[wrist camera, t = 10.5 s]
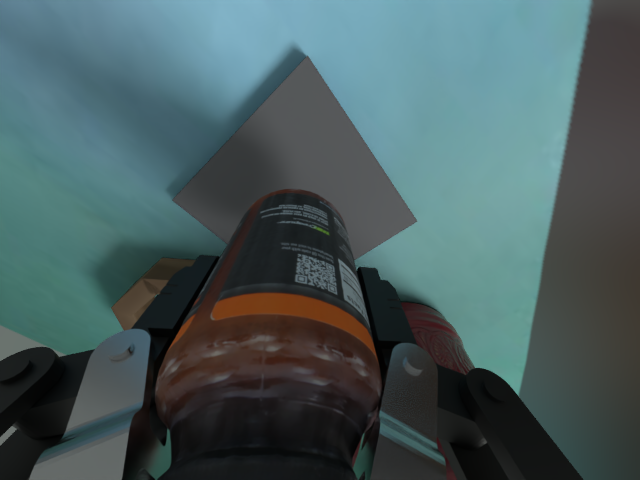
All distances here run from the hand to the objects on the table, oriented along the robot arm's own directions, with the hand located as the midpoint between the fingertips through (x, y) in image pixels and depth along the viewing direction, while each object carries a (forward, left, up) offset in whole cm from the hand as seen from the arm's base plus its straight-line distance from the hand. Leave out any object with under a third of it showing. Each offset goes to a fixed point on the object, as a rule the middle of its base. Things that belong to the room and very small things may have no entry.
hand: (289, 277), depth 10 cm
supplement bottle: (0, 0, -4) cm, 4 cm away
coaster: (0, 0, -7) cm, 7 cm away
